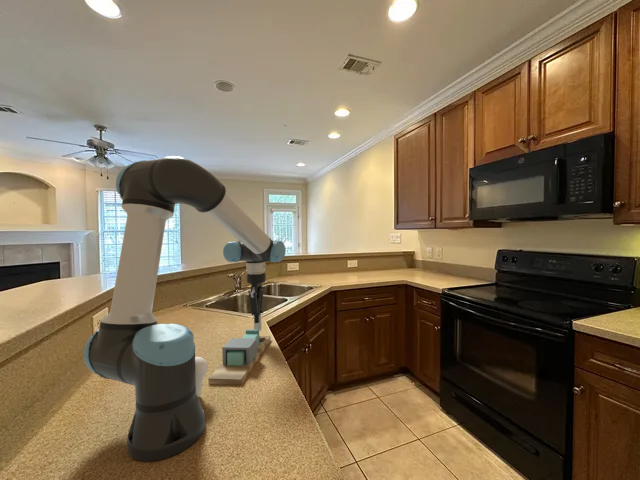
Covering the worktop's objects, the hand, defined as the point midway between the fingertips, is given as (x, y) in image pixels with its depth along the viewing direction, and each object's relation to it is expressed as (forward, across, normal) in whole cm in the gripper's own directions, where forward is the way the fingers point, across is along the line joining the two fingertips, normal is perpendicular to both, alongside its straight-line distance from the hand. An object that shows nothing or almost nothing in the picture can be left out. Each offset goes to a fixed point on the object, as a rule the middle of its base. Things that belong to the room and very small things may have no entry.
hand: (258, 329), depth 116 cm
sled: (+3, -16, 0) cm, 16 cm away
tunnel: (+3, -20, 0) cm, 20 cm away
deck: (+4, -16, 0) cm, 17 cm away
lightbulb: (+4, -40, +5) cm, 41 cm away
